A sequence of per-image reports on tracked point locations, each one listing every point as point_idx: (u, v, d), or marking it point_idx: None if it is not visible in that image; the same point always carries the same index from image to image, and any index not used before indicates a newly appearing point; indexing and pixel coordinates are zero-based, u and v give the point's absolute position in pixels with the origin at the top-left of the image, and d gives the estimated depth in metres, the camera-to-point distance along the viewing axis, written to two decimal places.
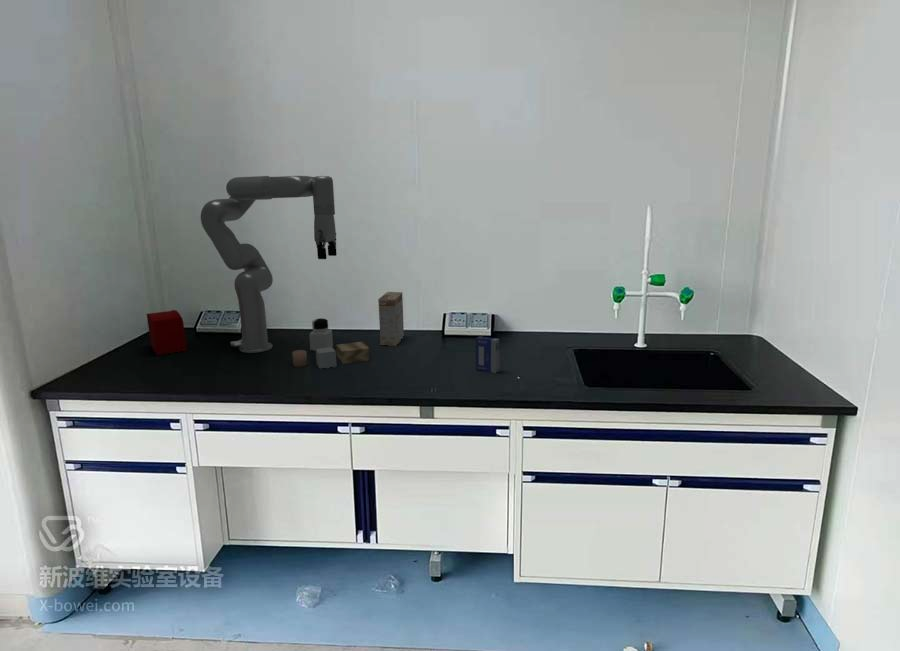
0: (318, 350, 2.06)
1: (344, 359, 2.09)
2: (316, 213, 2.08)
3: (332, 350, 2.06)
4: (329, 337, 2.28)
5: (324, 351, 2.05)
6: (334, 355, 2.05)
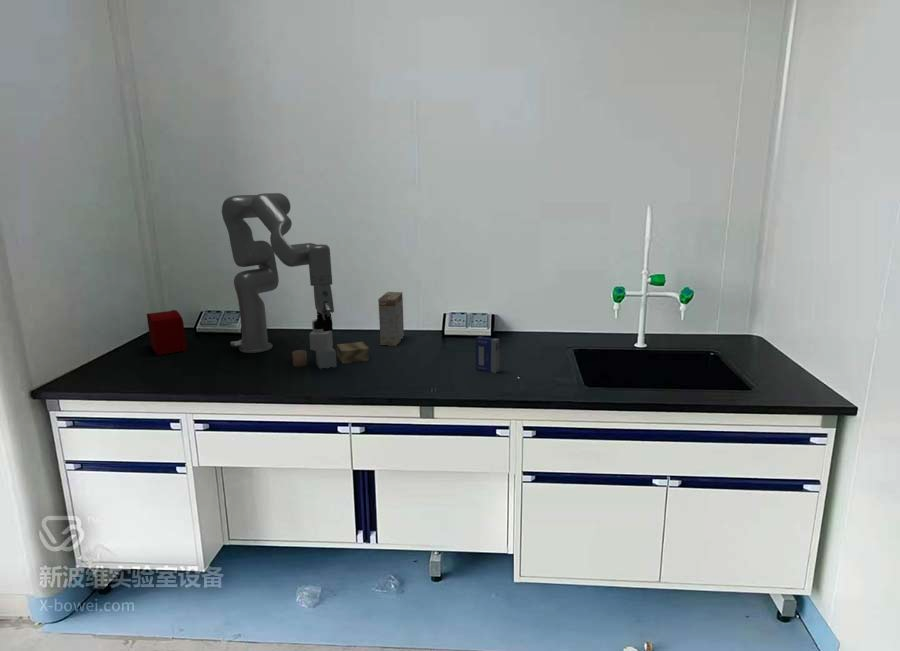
0: (318, 350, 2.06)
1: (343, 359, 2.10)
2: None
3: (332, 350, 2.06)
4: (329, 337, 2.28)
5: (324, 351, 2.05)
6: (334, 355, 2.05)
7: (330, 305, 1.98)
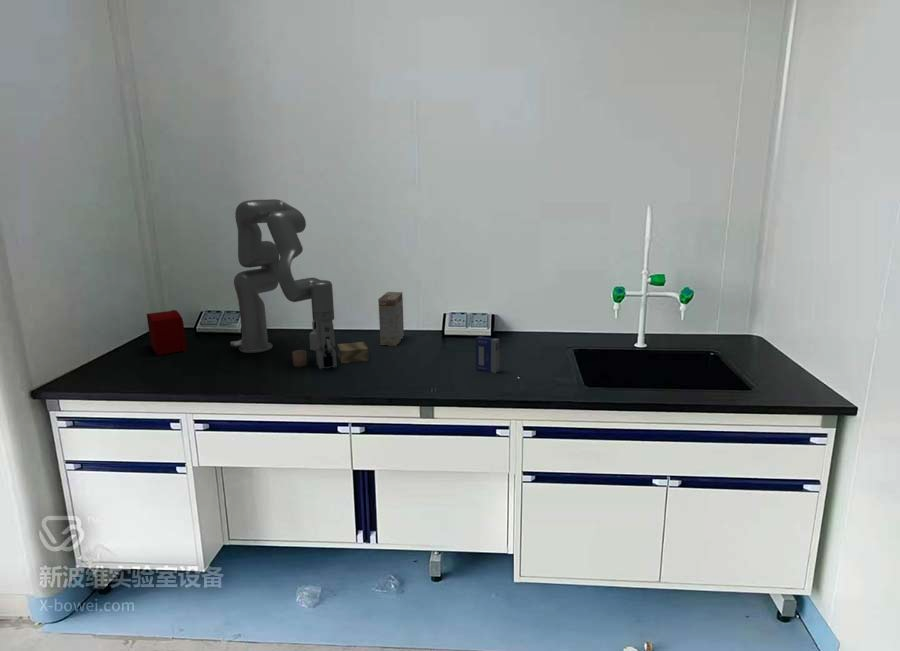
0: (318, 350, 2.06)
1: (343, 359, 2.10)
2: None
3: (332, 350, 2.06)
4: None
5: None
6: (334, 355, 2.05)
7: (332, 340, 2.01)
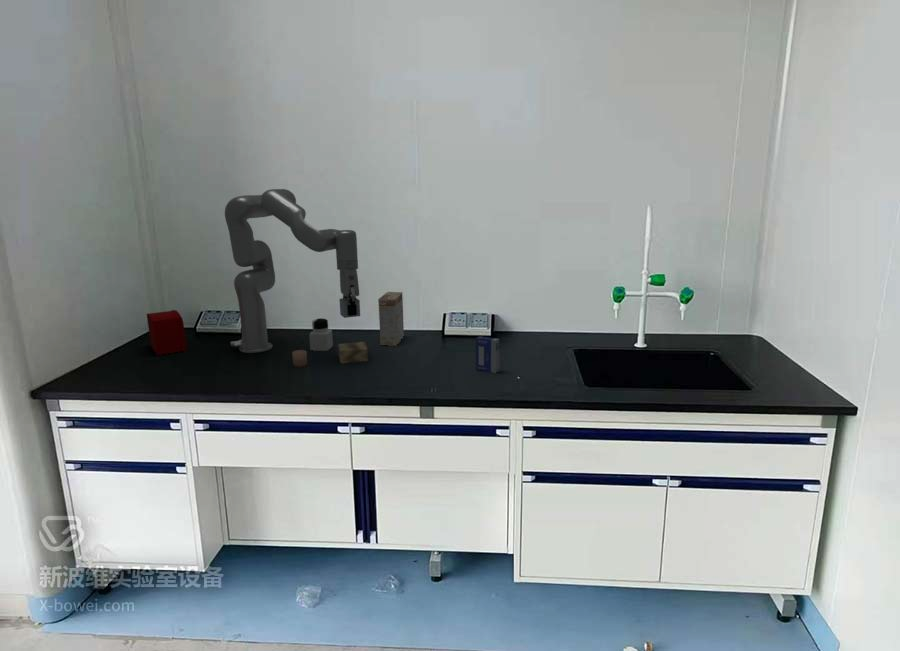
0: (342, 299, 2.10)
1: (342, 359, 2.10)
2: None
3: (356, 299, 2.10)
4: (329, 337, 2.28)
5: None
6: (358, 304, 2.09)
7: (356, 289, 2.05)
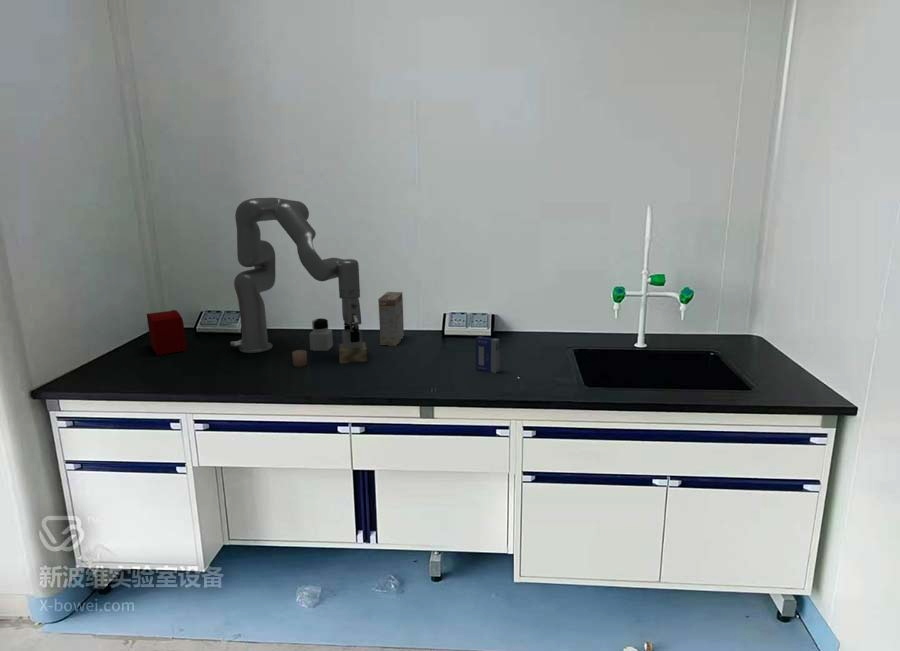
0: (344, 331, 2.13)
1: (341, 359, 2.10)
2: None
3: None
4: (329, 337, 2.28)
5: None
6: (360, 336, 2.12)
7: (358, 317, 2.08)
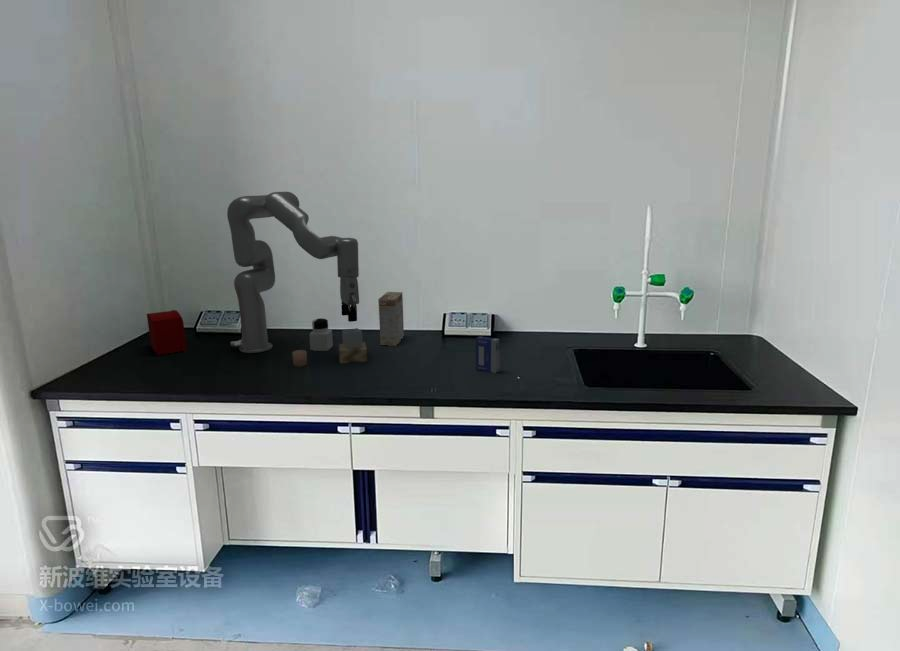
0: (345, 331, 2.13)
1: (341, 359, 2.10)
2: None
3: (358, 331, 2.13)
4: (329, 337, 2.28)
5: (351, 332, 2.12)
6: (360, 335, 2.12)
7: (356, 297, 2.06)
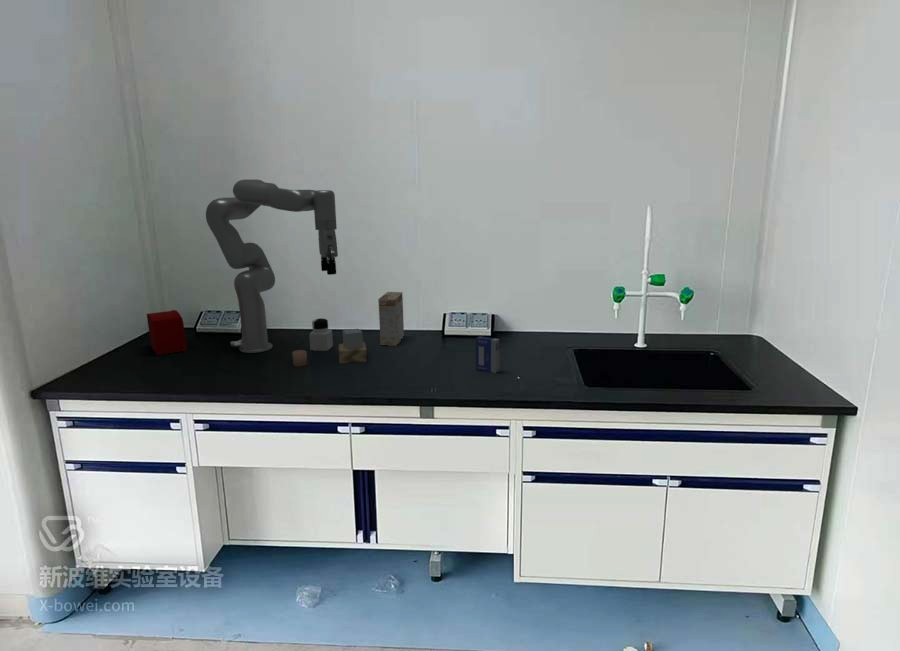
0: (345, 331, 2.13)
1: (340, 359, 2.10)
2: None
3: (359, 331, 2.13)
4: (329, 337, 2.28)
5: (351, 332, 2.12)
6: (361, 336, 2.12)
7: (334, 249, 2.05)
